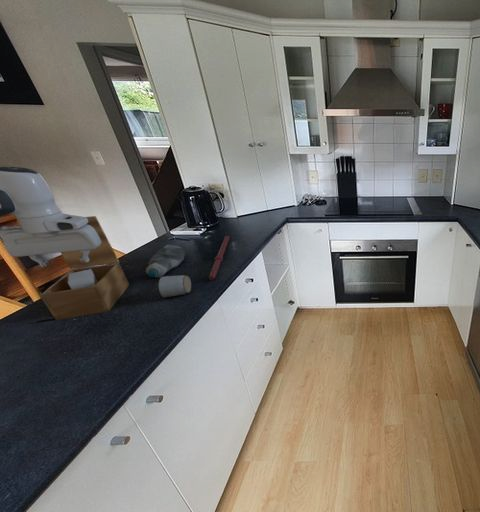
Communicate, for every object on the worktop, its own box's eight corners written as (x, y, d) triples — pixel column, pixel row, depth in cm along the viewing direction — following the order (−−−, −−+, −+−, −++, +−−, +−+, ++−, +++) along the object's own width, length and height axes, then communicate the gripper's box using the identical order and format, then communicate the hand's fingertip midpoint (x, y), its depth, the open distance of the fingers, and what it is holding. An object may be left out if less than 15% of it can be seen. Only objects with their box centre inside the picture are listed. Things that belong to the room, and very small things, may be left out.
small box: (82, 299, 97) (68, 273, 93) (104, 293, 101) (91, 268, 96) (82, 309, 92) (66, 282, 87) (104, 302, 96) (91, 276, 91)
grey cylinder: (189, 297, 101) (182, 279, 97) (162, 301, 98) (155, 283, 95) (196, 283, 109) (190, 266, 106) (172, 286, 107) (165, 269, 104)
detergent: (160, 257, 129) (132, 283, 107) (156, 243, 126) (127, 267, 104) (192, 256, 132) (171, 281, 111) (189, 242, 130) (167, 266, 108)
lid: (94, 216, 93) (101, 211, 97) (40, 221, 89) (50, 215, 93) (118, 262, 102) (123, 256, 106) (70, 268, 98) (78, 262, 102)
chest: (109, 310, 93) (96, 286, 88) (56, 320, 88) (39, 295, 84) (129, 285, 107) (119, 263, 103) (84, 291, 103) (71, 269, 98)
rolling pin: (217, 280, 111) (215, 274, 110) (208, 281, 110) (206, 275, 109) (231, 239, 149) (230, 234, 148) (224, 240, 148) (223, 235, 147)
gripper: (-15, 230, 75) (13, 273, 81) (83, 223, 83) (102, 263, 89) (3, 223, 80) (28, 264, 86) (93, 217, 88) (110, 255, 94)
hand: (66, 264), depth 88 cm, fingers open, 8 cm apart
